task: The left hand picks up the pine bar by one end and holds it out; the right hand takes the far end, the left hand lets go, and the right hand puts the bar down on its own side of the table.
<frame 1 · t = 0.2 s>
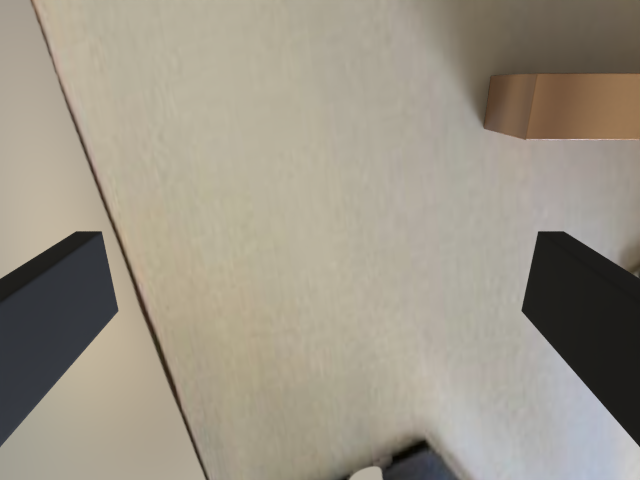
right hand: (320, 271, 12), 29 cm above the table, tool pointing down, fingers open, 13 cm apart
bar: (616, 102, 39), on the table
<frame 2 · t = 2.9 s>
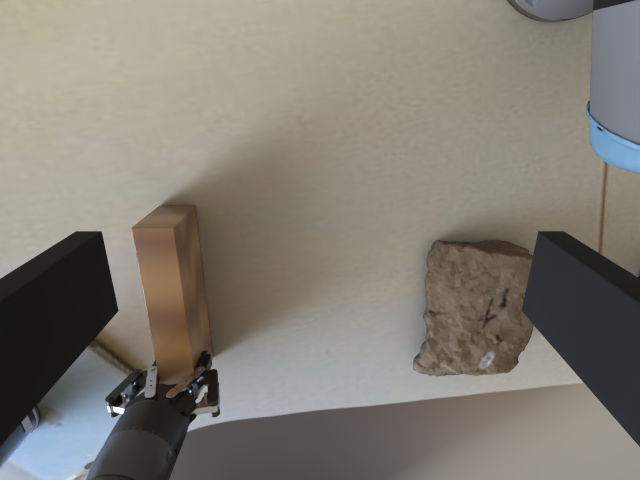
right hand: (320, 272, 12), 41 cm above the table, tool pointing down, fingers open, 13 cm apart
left hand: (187, 355, 58), fingers closed on bar, 4 cm apart
bar: (188, 287, 59), on the table, touching left hand
stone: (463, 302, 59), on the table
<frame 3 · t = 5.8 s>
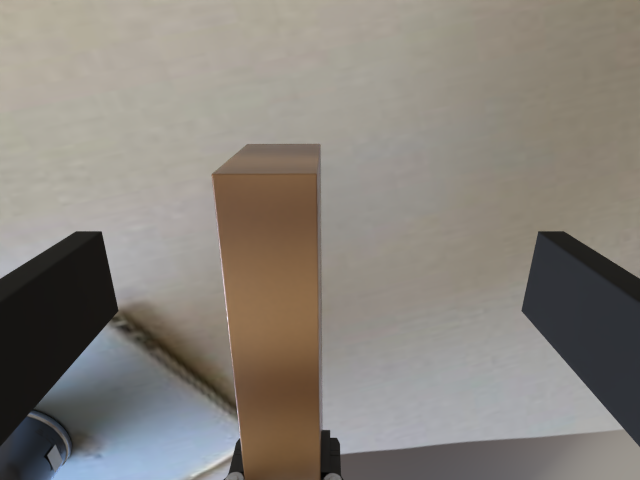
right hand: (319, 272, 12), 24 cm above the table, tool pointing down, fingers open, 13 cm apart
bar: (290, 308, 31), point 8 cm above the table, touching left hand
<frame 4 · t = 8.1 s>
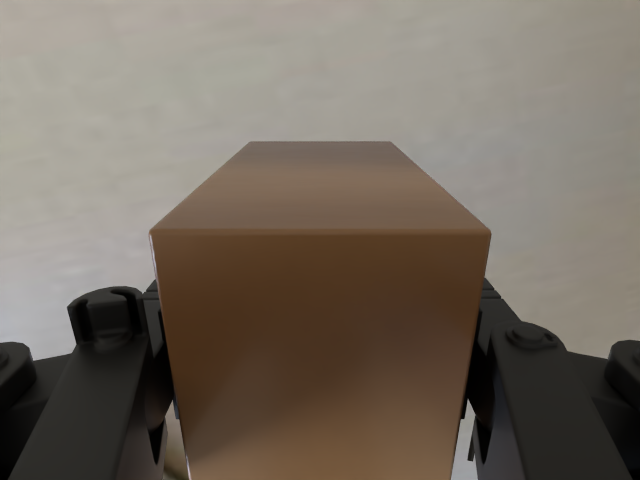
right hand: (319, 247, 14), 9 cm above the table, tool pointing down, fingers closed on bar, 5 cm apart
bar: (320, 422, 18), point 8 cm above the table, touching right hand, left hand
when the left hand's fingers open (12 cm above the table, at t = 8.9 s): bar stays where it is, held by the right hand.
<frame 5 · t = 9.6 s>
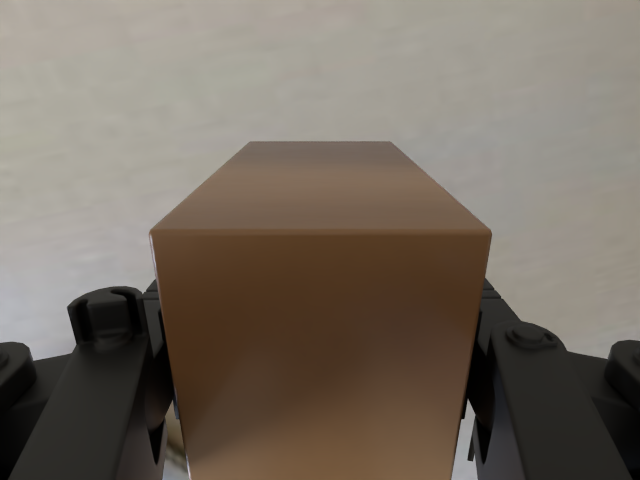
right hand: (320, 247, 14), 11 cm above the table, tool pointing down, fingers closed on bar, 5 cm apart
bar: (320, 422, 18), point 11 cm above the table, touching right hand
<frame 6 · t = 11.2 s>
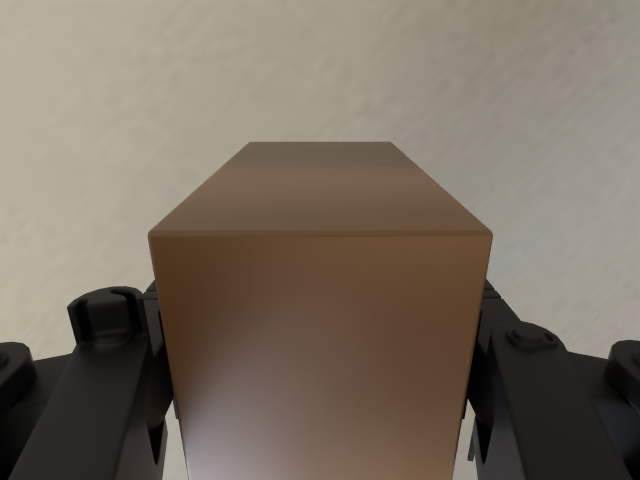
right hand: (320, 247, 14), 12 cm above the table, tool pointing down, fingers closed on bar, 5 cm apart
bar: (320, 423, 18), point 11 cm above the table, touching right hand
when the right hand's fingers open (2 cm above the table, at t = 12.7 s): bar stays where it is, on the table.
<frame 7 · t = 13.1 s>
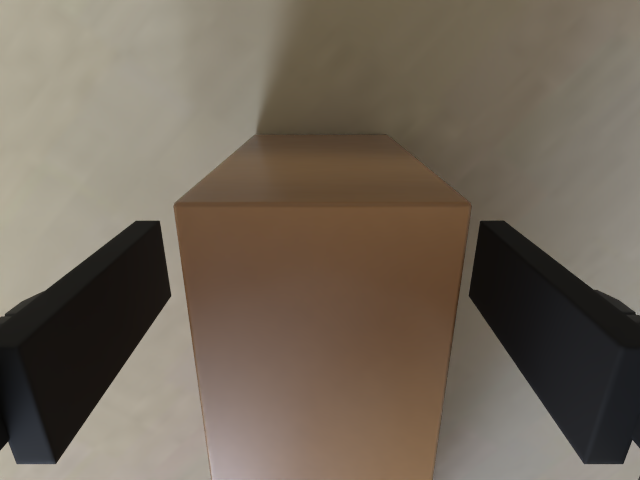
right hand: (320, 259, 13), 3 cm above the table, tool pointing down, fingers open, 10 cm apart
bar: (320, 404, 19), on the table
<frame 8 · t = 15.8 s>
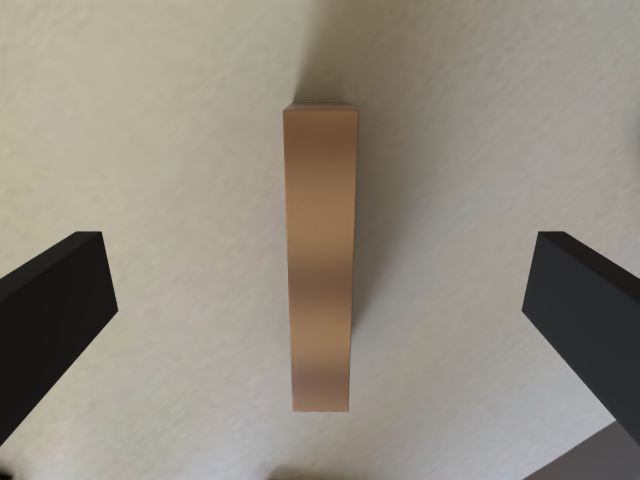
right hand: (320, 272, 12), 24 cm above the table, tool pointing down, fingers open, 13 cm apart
bar: (320, 240, 38), on the table
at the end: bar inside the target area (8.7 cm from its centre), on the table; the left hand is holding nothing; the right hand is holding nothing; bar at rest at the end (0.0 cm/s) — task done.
